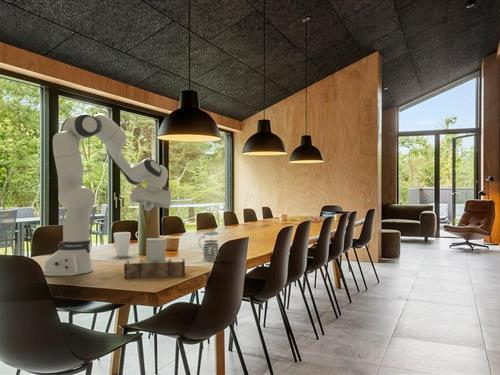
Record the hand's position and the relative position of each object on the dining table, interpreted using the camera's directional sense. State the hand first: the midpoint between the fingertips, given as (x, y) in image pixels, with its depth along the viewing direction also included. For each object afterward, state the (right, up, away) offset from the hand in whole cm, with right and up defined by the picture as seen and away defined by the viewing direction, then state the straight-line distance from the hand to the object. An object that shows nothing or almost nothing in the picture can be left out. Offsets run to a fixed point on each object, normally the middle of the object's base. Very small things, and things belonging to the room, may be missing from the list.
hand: (147, 209), depth 209 cm
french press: (+29, -28, +18) cm, 44 cm away
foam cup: (-22, -28, +33) cm, 48 cm away
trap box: (+10, -27, -25) cm, 38 cm away
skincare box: (+9, -27, -23) cm, 37 cm away
